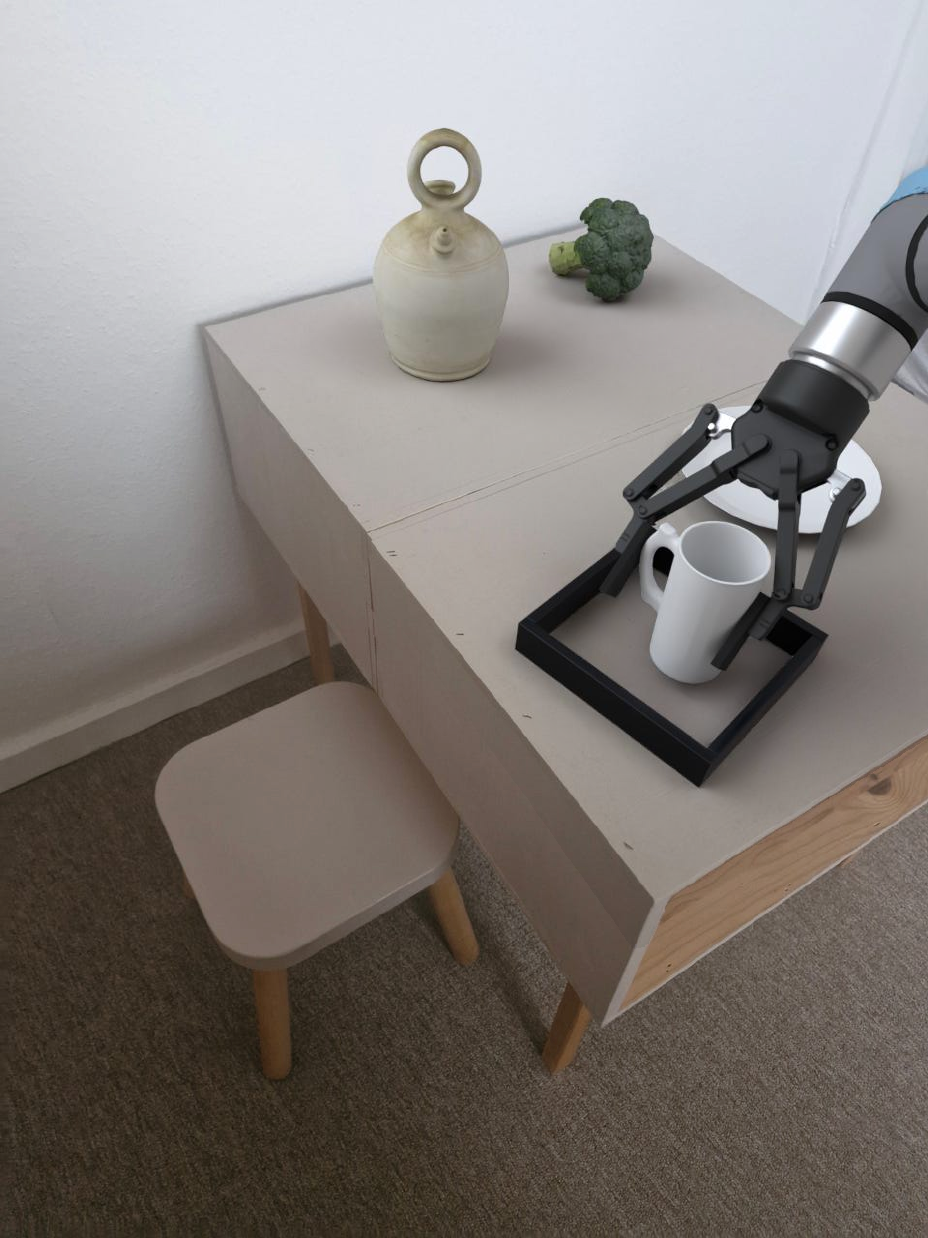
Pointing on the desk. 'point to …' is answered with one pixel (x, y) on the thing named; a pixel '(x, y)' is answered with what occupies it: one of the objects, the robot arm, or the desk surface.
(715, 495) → the plate
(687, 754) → the black square frame
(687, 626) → the mug
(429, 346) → the jug
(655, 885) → the desk surface
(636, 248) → the vegetable
